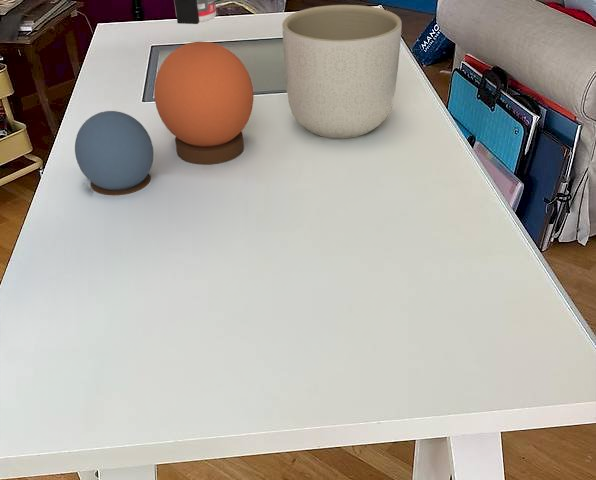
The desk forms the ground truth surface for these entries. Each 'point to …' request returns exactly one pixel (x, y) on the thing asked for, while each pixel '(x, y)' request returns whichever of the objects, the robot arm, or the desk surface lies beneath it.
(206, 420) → the desk surface
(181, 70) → the terracotta ball
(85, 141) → the slate ball
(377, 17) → the planter
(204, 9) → the pill bottle
